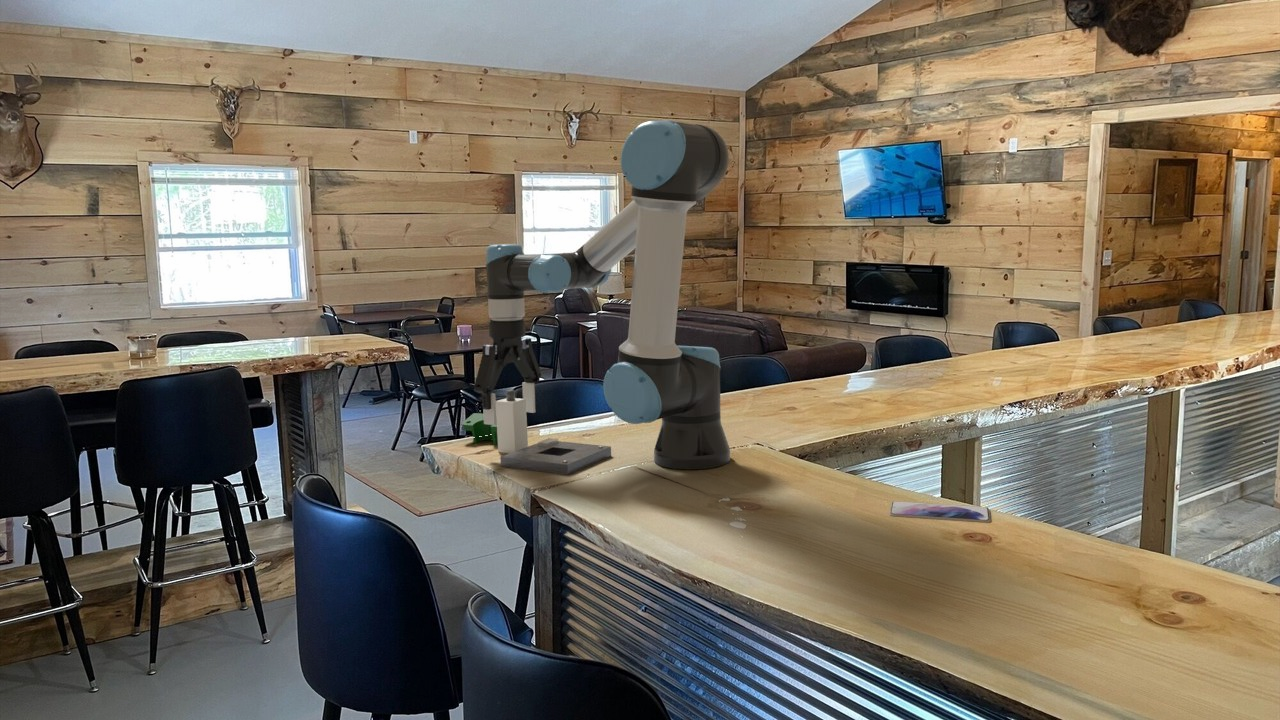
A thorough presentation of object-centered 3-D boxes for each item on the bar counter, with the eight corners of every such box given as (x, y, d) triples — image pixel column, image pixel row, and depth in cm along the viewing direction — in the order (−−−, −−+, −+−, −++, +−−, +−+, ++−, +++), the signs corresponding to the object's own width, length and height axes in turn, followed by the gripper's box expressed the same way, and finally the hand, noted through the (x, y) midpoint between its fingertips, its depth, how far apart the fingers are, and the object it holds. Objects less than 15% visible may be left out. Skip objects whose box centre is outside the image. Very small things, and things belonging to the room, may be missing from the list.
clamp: (474, 461, 207) (454, 427, 206) (488, 449, 212) (468, 415, 211) (514, 445, 201) (493, 409, 200) (527, 433, 207) (506, 398, 205)
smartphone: (991, 520, 141) (889, 513, 146) (990, 526, 141) (889, 518, 146) (989, 506, 147) (891, 500, 152) (989, 511, 148) (891, 505, 152)
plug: (528, 449, 198) (525, 389, 196) (515, 454, 194) (512, 393, 192) (511, 447, 200) (508, 388, 198) (498, 452, 196) (495, 391, 195)
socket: (611, 456, 190) (610, 443, 190) (567, 474, 176) (567, 460, 176) (547, 449, 198) (546, 436, 197) (500, 466, 184) (500, 453, 184)
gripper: (527, 312, 206) (530, 405, 209) (453, 323, 184) (457, 428, 188) (555, 313, 202) (558, 408, 205) (483, 325, 181) (487, 431, 184)
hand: (510, 418), depth 196 cm, fingers open, 13 cm apart
